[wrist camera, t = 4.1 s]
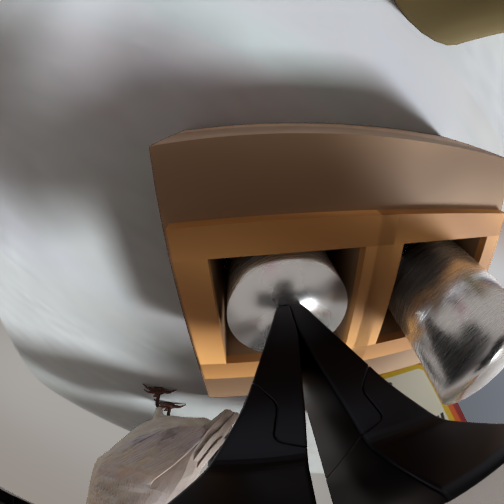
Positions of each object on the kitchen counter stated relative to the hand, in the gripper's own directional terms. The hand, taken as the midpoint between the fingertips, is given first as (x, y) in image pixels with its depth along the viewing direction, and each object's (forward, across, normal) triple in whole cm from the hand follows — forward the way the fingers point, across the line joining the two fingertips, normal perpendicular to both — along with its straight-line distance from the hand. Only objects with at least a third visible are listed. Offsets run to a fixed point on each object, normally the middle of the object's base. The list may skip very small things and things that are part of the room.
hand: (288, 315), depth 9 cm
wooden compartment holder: (+5, -3, 0) cm, 6 cm away
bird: (+6, +9, +14) cm, 18 cm away
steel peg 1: (+5, 0, 0) cm, 5 cm away
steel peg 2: (+1, -6, 0) cm, 6 cm away
